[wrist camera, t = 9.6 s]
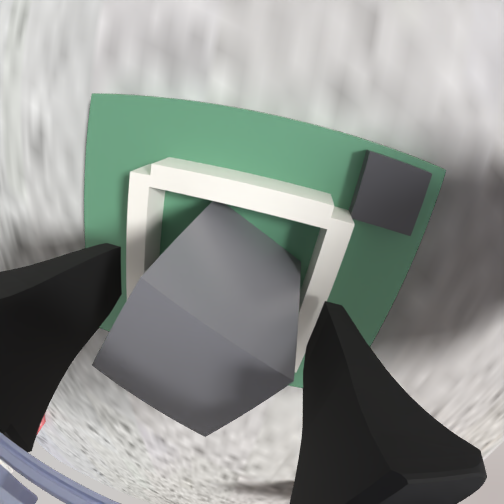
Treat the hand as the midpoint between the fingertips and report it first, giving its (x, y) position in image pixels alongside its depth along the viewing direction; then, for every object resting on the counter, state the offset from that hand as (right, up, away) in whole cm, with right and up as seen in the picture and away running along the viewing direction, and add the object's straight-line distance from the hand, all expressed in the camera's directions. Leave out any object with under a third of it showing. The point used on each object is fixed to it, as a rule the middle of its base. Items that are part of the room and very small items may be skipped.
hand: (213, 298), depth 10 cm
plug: (0, +1, +2) cm, 2 cm away
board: (+1, +1, +3) cm, 3 cm away
